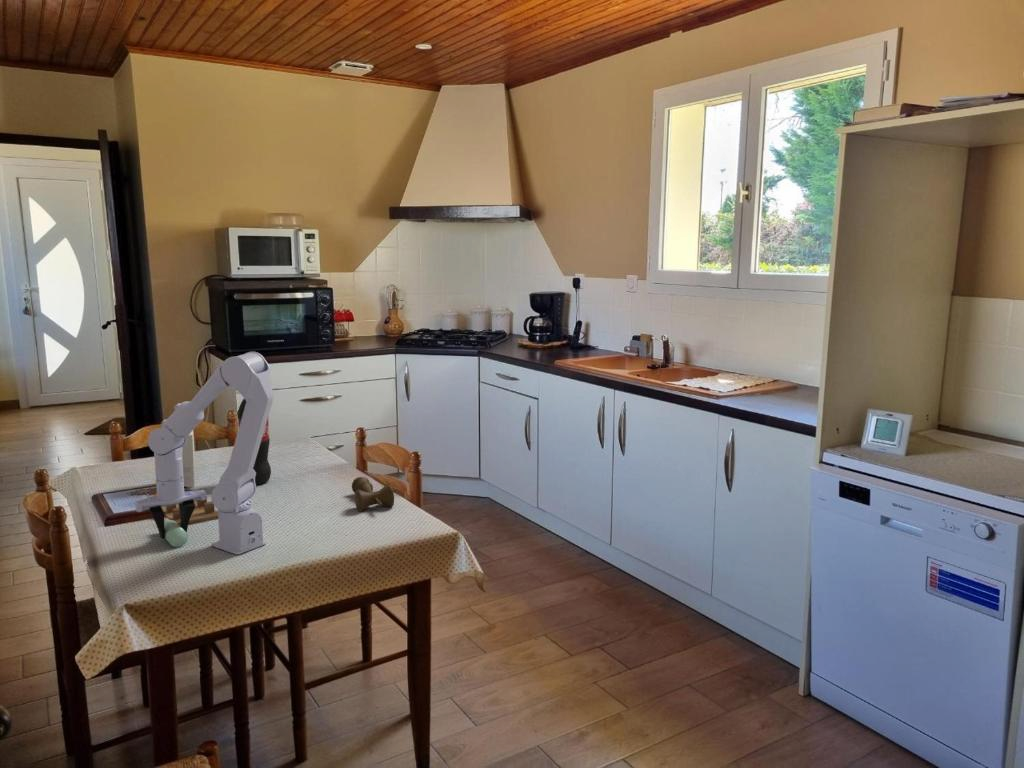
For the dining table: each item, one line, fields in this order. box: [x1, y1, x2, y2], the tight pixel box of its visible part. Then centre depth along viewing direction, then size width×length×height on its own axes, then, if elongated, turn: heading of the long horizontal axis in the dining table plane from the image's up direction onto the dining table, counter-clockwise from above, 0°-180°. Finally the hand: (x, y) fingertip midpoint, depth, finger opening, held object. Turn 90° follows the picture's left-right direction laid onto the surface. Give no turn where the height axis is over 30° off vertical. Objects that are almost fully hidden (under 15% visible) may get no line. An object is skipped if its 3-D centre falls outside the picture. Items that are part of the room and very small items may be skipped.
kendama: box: [351, 476, 395, 512], centre depth 199 cm, size 6×10×20 cm
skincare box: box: [182, 430, 196, 488], centre depth 212 cm, size 8×7×16 cm
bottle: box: [164, 517, 189, 548], centre depth 172 cm, size 12×4×4 cm, turn 39°
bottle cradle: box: [161, 495, 218, 526], centre depth 189 cm, size 16×11×3 cm
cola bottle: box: [236, 398, 272, 486], centre depth 213 cm, size 8×8×30 cm
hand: (173, 535), depth 171 cm, fingers closed on bottle, 4 cm apart
